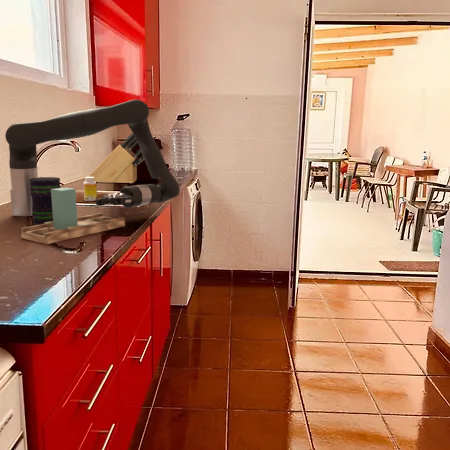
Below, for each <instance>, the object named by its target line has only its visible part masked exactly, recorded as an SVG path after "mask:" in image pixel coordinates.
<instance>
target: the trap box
mask: <svg viewBox="0 0 450 450" xmlns="http://www.w3.org/2000/svg"><path fill="white" fill-rule="evenodd" d="M77 224H78V225H76V226H71V227H67V229H62V230H60V229H56V228H54V225H53V221H51V222H45V224H40V225H37V224H34V225H31V226H25V227H22V228H20V232H21V233H20V234H21V239H23V240H24V239H25V240H27V241H28V240H29V241H31V242H35V243H40V244H43V245H49V244H53V243H57V242H62V241H67V240H71V239H74V238H78V237H83V236H88V235H92V234H97V233H100V232H104V231H108V230H114V229H118V228H121V227H126V218H125V216H120V217H116V218H115V217H109V216H104V215H103V213H102V212H99V213H94V214H89V215H82V216H77Z"/></svg>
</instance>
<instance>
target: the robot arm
mask: <svg viewBox="0 0 450 450" xmlns="http://www.w3.org/2000/svg"><path fill="white" fill-rule="evenodd" d="M149 114H150V109H149V106H148V104H147V103H146V102H144V100H141V99H130V100H127V101H125V102H120V103H118V104H114V105H111V106H107V107H106V106H105V107H97V108H92V109H85V110H80V111H73V112H68V113H66V114H62V115H59V116H55V117H53V118H50V119H46V120H41V121H33V122H17V123H13V124H11V125H10V126H9V127H7V129H6V131H5V135H4V136H5V140H6V143H8V148H9V149H8V151H9V161H8V164H9V174H10V184H11V185H10V186H11V188H10V190H9V193H10V204H11V205H10V206H11V214H12V215H11V216H13V217H14V216H15V217H31V216H32V212H33V211H32V196H31V194H30V193H31V190H30V187H31V186H30V179H32V178H39V175H38V174H39V173H38V156H37V155H38V154H37V145H40V144H44V143H48V142H52V141H65V140H74V139H80V138H85V137H89V136H92V135H96V134H99V133H102V132H103V131H105V130H108V129H110V128H113V127H115V126H123V125H128V128H129V129H130V131H131V133H133V134H134V136H135V138H136V140H137V142H138V146H139V148H140V149H141V152H142V154H141V155H142V156H143V157H144V160H143V161H144V162H145V164H146V167H147V171H148V172H149V175H150V176H151V178H153V179H160V180H161V183H159V184H157V185H156V184H155V183H149V184H137V185H130V186H129V185H128V186H124V187H123V188H122V187H121V189H120V191H119V192H114V193H111V194H108V193H104V194H103V195H101V198H100V197H99V198H97V199H96V200H95V206H98V207H100V206H111V205H112V206H123V207H124V208H126V209H132V208H136V207H141V206H145V205H149V204H153V203H157V204H159V203H164V202H167V201H169V200H172V199H175V198H177V197H178V196H179V194H180V189H181V188H180V184H179V183H178V181H177V179H176V177H175V176H174V175H173V173H172V172H171V171H170V170H169V168H168V166H167V163H166V161H165V159H164V156H163V154H162V152H161V150H160V148H159V146H158V143H156V140H155V139H154V137H153V134H152V133H151V129H150V126H149V121H148V119H149ZM32 217H33V216H32Z"/></svg>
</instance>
